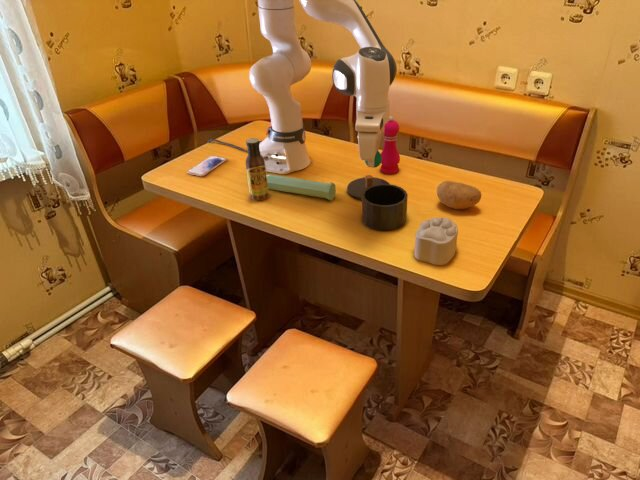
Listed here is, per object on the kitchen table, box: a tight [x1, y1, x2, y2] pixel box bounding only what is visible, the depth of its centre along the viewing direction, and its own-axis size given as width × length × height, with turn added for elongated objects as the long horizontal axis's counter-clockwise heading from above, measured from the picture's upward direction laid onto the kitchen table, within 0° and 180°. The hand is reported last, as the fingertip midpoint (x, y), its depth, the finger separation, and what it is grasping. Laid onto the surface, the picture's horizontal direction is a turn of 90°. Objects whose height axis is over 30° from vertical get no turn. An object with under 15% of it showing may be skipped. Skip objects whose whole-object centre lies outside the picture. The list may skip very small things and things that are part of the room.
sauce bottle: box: [245, 137, 269, 201], centre depth 159 cm, size 6×6×20 cm
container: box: [266, 174, 337, 202], centre depth 165 cm, size 6×6×25 cm
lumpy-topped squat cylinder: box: [414, 216, 459, 266], centre depth 137 cm, size 10×13×9 cm
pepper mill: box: [380, 115, 401, 175], centre depth 173 cm, size 7×7×20 cm
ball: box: [364, 150, 382, 169], centre depth 141 cm, size 5×5×5 cm
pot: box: [361, 183, 409, 232], centre depth 151 cm, size 14×14×8 cm
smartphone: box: [187, 154, 227, 177], centre depth 183 cm, size 7×1×15 cm
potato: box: [436, 180, 482, 210], centre depth 156 cm, size 10×14×8 cm
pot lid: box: [346, 174, 390, 200], centre depth 166 cm, size 15×15×5 cm
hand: (373, 161), depth 141 cm, fingers closed on ball, 5 cm apart
